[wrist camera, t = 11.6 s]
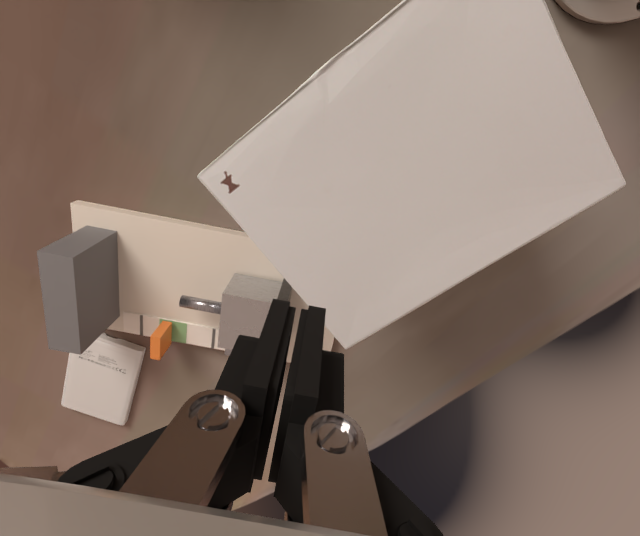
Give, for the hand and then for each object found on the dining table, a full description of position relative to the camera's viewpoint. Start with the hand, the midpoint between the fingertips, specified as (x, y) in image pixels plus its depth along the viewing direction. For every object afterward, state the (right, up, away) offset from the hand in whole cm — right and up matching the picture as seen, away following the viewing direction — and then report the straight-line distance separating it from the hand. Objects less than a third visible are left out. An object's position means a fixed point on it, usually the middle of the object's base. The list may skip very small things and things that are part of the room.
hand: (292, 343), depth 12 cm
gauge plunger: (-8, -2, +29) cm, 31 cm away
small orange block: (-16, -5, +31) cm, 35 cm away
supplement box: (+6, +14, +23) cm, 28 cm away
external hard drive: (-26, -10, +37) cm, 46 cm away
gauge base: (-11, 0, +30) cm, 32 cm away
